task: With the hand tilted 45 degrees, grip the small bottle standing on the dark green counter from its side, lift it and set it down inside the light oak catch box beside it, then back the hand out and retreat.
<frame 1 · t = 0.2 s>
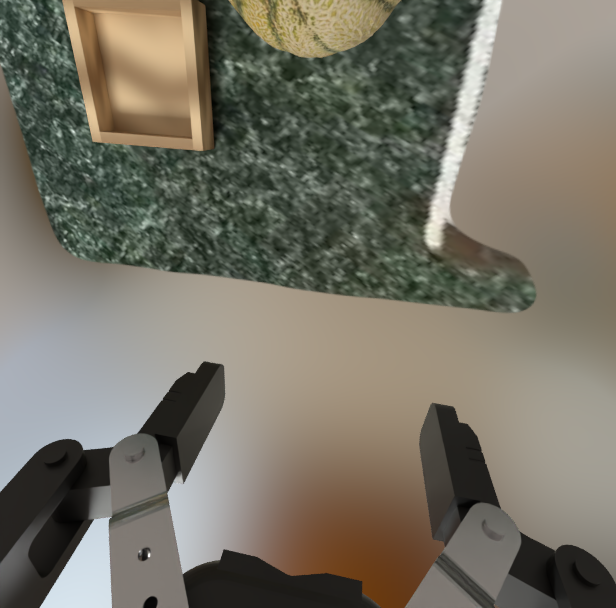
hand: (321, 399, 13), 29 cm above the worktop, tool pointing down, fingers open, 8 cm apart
catch box: (153, 79, 35), on the worktop
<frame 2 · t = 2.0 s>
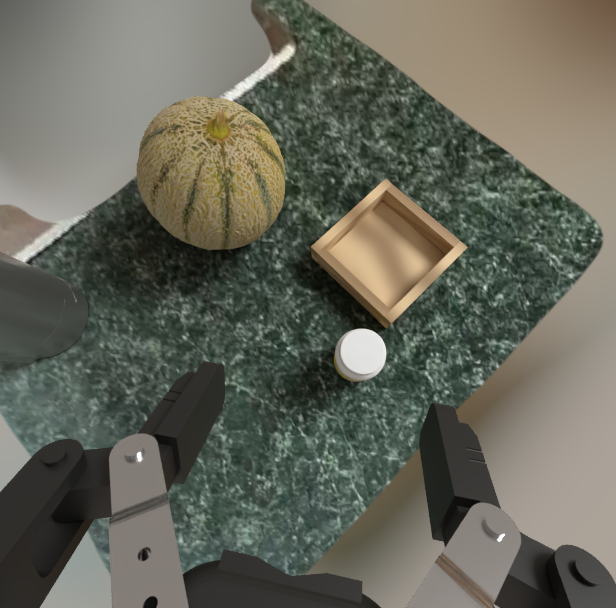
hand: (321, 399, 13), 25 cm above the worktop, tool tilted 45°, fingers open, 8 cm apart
supplement bottle: (354, 360, 38), on the worktop
cantaloupe: (233, 215, 43), on the worktop
catch box: (383, 257, 41), on the worktop
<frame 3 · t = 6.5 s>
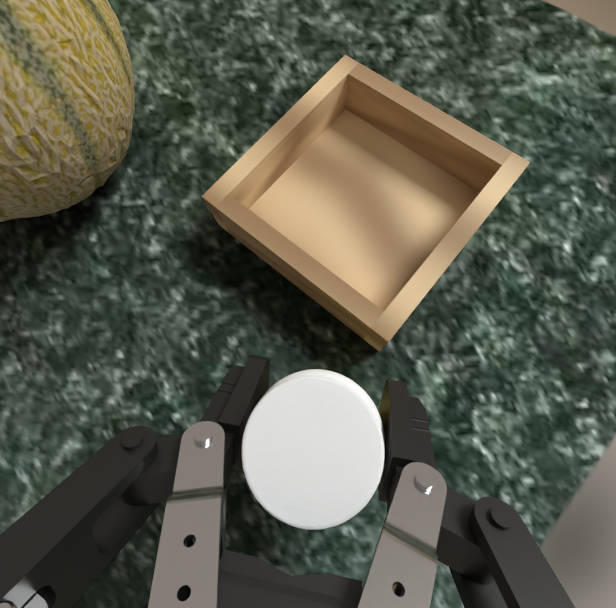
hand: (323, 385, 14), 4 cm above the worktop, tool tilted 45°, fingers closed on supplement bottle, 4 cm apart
supplement bottle: (318, 427, 18), on the worktop, touching gripper
cantaloupe: (70, 165, 23), on the worktop
catch box: (358, 210, 21), on the worktop
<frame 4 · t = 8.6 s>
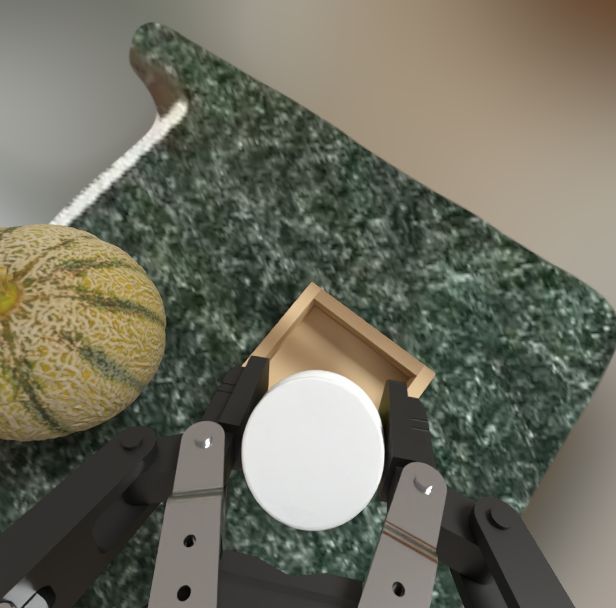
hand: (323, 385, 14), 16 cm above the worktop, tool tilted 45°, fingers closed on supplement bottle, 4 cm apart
supplement bottle: (318, 427, 18), point 11 cm above the worktop, touching gripper
cantaloupe: (116, 347, 32), on the worktop
catch box: (324, 387, 29), on the worktop
when the fingers open (6 cm above the worktop, at t = 11.1 s): supplement bottle drops 1 cm, resting on catch box.
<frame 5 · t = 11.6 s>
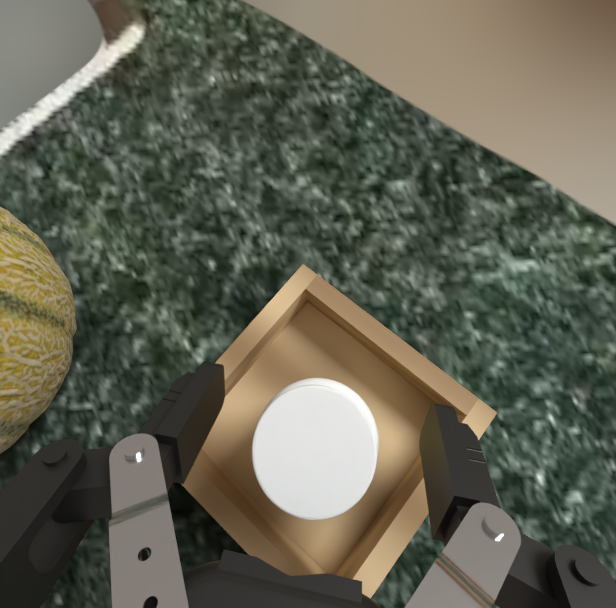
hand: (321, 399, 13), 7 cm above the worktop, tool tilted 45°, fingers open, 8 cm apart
supplement bottle: (319, 429, 19), resting on catch box
cantaloupe: (17, 354, 22), on the worktop
catch box: (318, 424, 19), on the worktop
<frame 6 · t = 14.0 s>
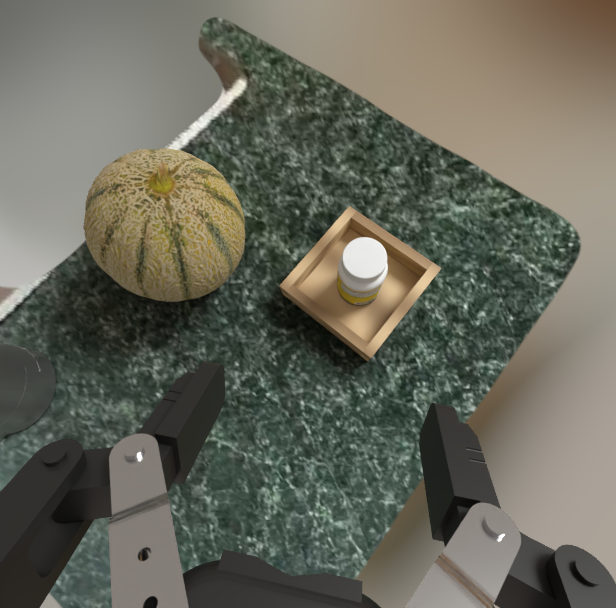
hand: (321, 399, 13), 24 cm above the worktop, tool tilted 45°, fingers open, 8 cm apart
supplement bottle: (358, 287, 39), resting on catch box
cantaloupe: (198, 259, 42), on the worktop
catch box: (357, 286, 39), on the worktop
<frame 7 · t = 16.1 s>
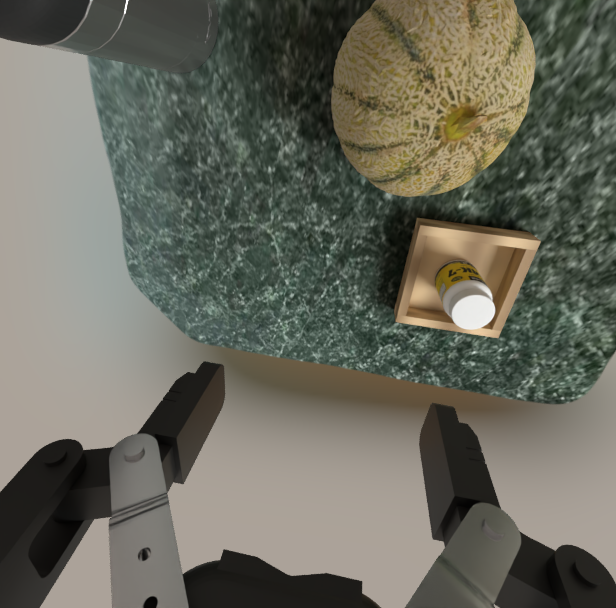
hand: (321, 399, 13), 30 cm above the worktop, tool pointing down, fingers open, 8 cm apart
supplement bottle: (454, 276, 41), resting on catch box
cantaloupe: (413, 101, 34), on the worktop
catch box: (455, 274, 41), on the worktop
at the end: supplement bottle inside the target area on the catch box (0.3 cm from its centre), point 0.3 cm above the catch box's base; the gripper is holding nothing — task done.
